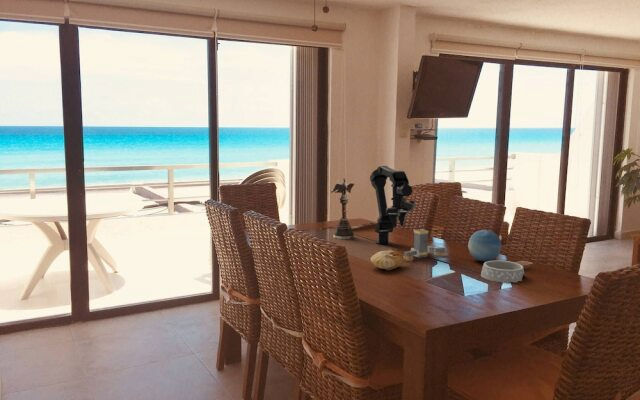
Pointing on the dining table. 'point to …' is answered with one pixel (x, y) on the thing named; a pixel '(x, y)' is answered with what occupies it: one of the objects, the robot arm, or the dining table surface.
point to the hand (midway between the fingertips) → (398, 226)
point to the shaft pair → (432, 250)
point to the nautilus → (388, 259)
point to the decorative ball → (484, 245)
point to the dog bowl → (502, 271)
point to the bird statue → (343, 211)
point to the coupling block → (421, 242)
